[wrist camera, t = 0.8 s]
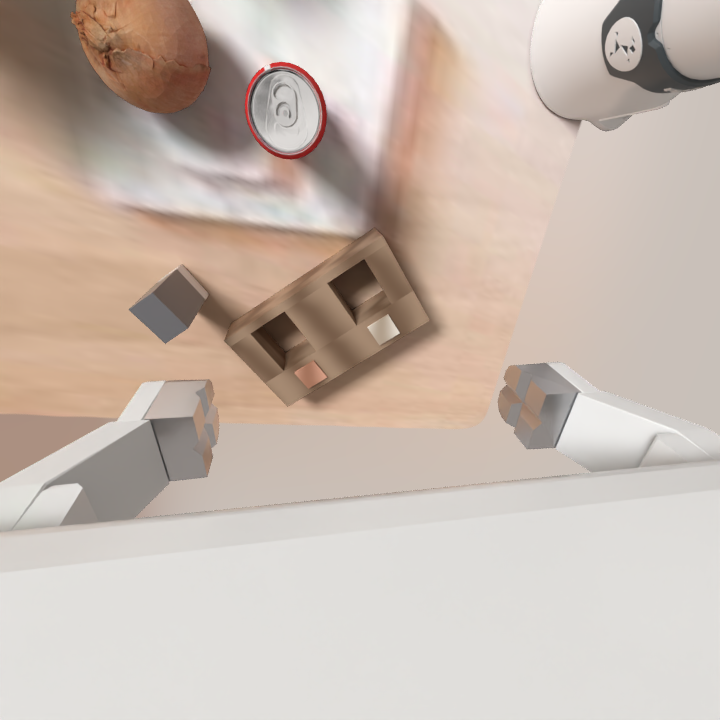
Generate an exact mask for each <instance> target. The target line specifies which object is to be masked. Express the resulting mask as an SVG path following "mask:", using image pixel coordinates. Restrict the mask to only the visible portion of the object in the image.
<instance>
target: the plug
mask: <svg viewBox="0 0 720 720" xmlns="http://www.w3.org/2000/svg"><path fill="white" fill-rule="evenodd" d="M208 295H209V293H208V292H207V291H206V290H205V289H204V288H203V287H202V286H201V285H200V284H199V282H198V281H197V280H196V279H195V278H194V277H193V276H192V275H191V274H190V273H189V271H188V270H187V269H186V268H185V267H184V266H183V265H182V264H181V265H180V266H178V267H177V268H175V269H174V270H173V271H171V272H170V273H168V274H167V275H166V276H164V277H163V278H162V279H161V280H160V281H158V282H157V283H156V284H155V285H154V286H153V287H152V288H151V289H150V290H149V291H148V292H147V293H146V294H145V295H144V296H143V297H141V298H140V299H139V300H138V301H137V302H136V303H135V304H134V305H133V306H132V307H131V308H130V309H129V310H130V311H131V312H132V313H133V314H134V315H135V316H136V317H137V318H138V319H139V320H140V321H141V322H143V323H144V324H145V325H146V326H147V327H148V328H149V329H150V330H151V331H152V332H153V333H154V334H156V335H157V336H158V337H159V338H160V339H161V340H162V341H163V342H164V343H165V344H166V343H167V342H169V341H170V340H171V339H173V338H174V337H176V336H177V335H179V334H180V333H182V332H183V331H185V330H186V329H188V328H189V326H190V324H191V323H192V321H193V319H194V318H195V316H196V315H197V313H198V311H199V310H200V308H201V307H202V305H203V303H204V302H205V300H206V298H207V297H208Z"/></svg>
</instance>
